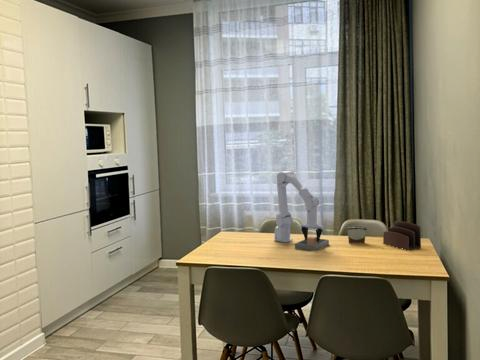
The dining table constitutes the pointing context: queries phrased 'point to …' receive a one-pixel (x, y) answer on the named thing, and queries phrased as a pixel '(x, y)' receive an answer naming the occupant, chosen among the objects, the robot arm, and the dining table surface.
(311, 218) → the robot arm
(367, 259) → the dining table surface
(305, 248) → the baking dish
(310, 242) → the terracotta block
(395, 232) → the letter holder
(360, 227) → the food container
